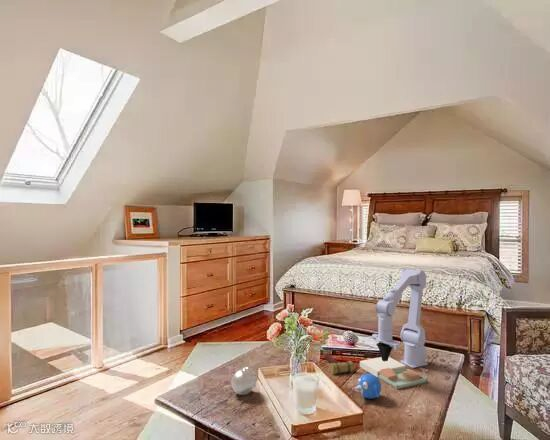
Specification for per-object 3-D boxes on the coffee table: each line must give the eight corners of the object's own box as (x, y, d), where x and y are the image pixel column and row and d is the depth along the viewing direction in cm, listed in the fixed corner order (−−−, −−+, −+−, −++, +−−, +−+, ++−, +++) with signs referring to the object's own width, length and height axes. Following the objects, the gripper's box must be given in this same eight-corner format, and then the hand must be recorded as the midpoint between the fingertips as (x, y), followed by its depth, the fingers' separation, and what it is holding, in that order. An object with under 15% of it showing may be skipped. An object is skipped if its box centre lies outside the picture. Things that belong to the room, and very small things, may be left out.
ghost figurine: (250, 401, 130) (250, 374, 130) (227, 396, 133) (227, 370, 133) (259, 390, 138) (259, 364, 138) (237, 386, 142) (238, 361, 142)
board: (386, 361, 169) (387, 355, 169) (405, 371, 158) (406, 365, 158) (359, 366, 162) (359, 361, 162) (377, 377, 151) (377, 371, 151)
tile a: (420, 374, 149) (420, 379, 149) (410, 369, 154) (410, 374, 154) (411, 376, 147) (411, 381, 147) (402, 371, 151) (402, 376, 151)
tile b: (388, 371, 153) (389, 367, 153) (397, 379, 149) (397, 374, 148) (379, 373, 151) (380, 369, 151) (387, 381, 147) (388, 376, 146)
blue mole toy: (343, 393, 137) (343, 371, 137) (368, 388, 142) (368, 366, 142) (362, 409, 126) (362, 385, 126) (389, 402, 131) (389, 379, 131)
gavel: (314, 351, 173) (333, 349, 176) (314, 360, 173) (333, 358, 175) (333, 365, 153) (354, 362, 156) (333, 376, 153) (354, 373, 155)
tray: (406, 371, 158) (406, 367, 158) (427, 382, 147) (427, 378, 147) (377, 377, 151) (378, 374, 151) (397, 389, 141) (397, 385, 141)
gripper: (366, 325, 156) (366, 355, 157) (390, 335, 143) (389, 368, 143) (379, 323, 159) (379, 353, 160) (403, 332, 146) (403, 365, 146)
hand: (384, 360), depth 152 cm, fingers closed
